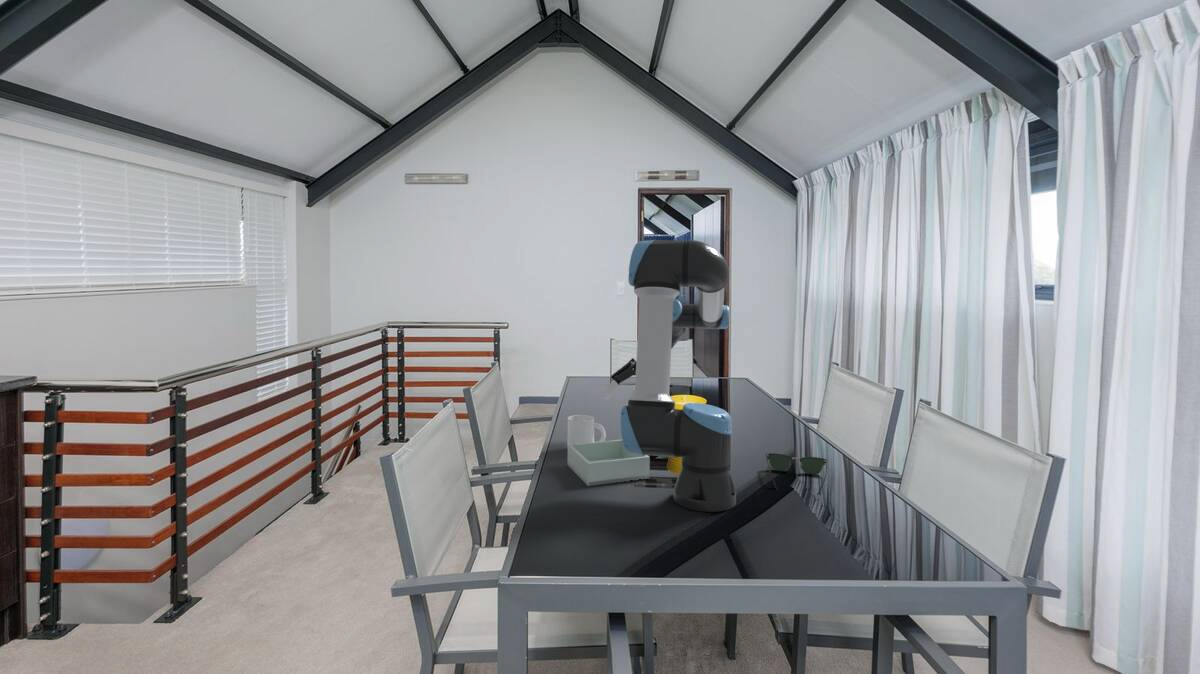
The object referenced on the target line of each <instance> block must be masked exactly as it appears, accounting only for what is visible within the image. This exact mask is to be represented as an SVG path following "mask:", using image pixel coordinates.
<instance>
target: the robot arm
mask: <svg viewBox="0 0 1200 674" xmlns="http://www.w3.org/2000/svg"><path fill="white" fill-rule="evenodd" d="M729 279H730V268H729V264H728V263H727V261H726V259H725V258H724V256H723V254H721V252H720V251H719V250H717V249H716V248H714V247H713V246H712V245H710V244H708V243H705V242H702V241H699V240H694V239H693V240H667V239H666V240H665V239H652V240H641V241H637V243H636V244H635V245H634V246H633V249H632V251H631V255H630V261H629V266H628V284H629V285H630V286H631V287H633V293H634V294H635V295H636V296H637V297H638V299H639V305H638V307H639V308H638V323H637V325H638V326H637V343H636V345H637V346H636V359H635V358H634V357H633V358H631V359H629V361H628V362H627V363H625V364H624V365H623V366H622V367H620V368H619V369H618V370H617V371H615V372H614V373H613V374H611V375H610V378H611V379H612V381H611V382H610V383H609V385H607V387H605V388H606V389H605V390H604V391H603V392H602V393H601V397H603V399H604V400H606V401H608V400H609V399H610V398H611V396H612V395H613V394H614V393H615V392H616V390H617V389H618V388H619V386H620V384H621V383H623V382H624V381H626V380H628V379H630V378H631V377H633V376H635V381H634V390H633V391H632V392H631V394H630V395H628V397H627V398H626V400H625V401H624V402H623V404H624V405H623V406H622V407H621V410H620V431H621V440H623V444H624V447H625V449H626V450H627V451H628V452H629V453H634V454H642V455H643V456H644V455H648V456H655V457H656V456H658V457H667V458H668V457H671V458H681V468H680V471H679V473H678V476H677V479H676V482H675V485H674V487H673V500H674V502H675V503H676V504H677V505H678V506H681V507H683V508H686V509H688V510H692V511H698V512H706V513H713V512H714V513H716V512H724V511H728V510H730V509H732V508H734V507H735V506H736V505H737V504H736V503H737V492H736V487H735V485H734V482H733V477H732V474H731V441H732V440H731V438H732V434H733V430H732V417H731V415H730V413H729V412H727V411H726V409H723V408H721V407H719V406H715V405H711V404H706V403H701V402H688V403H684V405H683V406H682V409H678V408H676V406H675V405H676V401H675V399H674V398H673V397H671V395H670V386H671V384H670V381H671V366H672V364H671V363H672V362H671V361H672V360H671V359H672V349H673V348H674V346H676V345H677V343H678V342H679V341H680V340H681V338H682V337H683V336H684V334H686V333H687V330H688V329H706V330H707V329H708V330H719V329H720V330H726V329H728V328H729V325H730V307H729V306H728V305H724V302H725V288H726V286H727V284H728V283H729ZM681 287H687V288H688V287H695V288H696V297H697V304H694V303H693V304H692V303H691V304H690V303H689V304H687V303H685V304H684V303H681V302H680V301H679V300H678V299H677V297H679V296H680V293H681Z"/></svg>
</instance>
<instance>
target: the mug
mask: <svg viewBox="0 0 1200 674" xmlns="http://www.w3.org/2000/svg"><path fill="white" fill-rule="evenodd" d="M595 429H598V430H599V431H600V432H601V437H600V439H599V440H598V441H597V442H602V441H606V438H607V434H606V433H607V432H606V430H605V428H604V426H603V425H602V424H600V423H598V422H595V417H594V416H592V415H588V414H587V415H586V414H576V415H575V414H574V415H569V416H567V439H566V441H567V442H566V443H567V444H566V445H567V447H566V448H568V445H571V444H581V443H591V442H595Z"/></svg>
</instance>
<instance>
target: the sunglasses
mask: <svg viewBox="0 0 1200 674" xmlns="http://www.w3.org/2000/svg"><path fill="white" fill-rule="evenodd" d="M765 459H766V463H767V467H768V470H769V475H770V476H771V479H772V482H773V485H774V488H775V490H778V488H777V485H776V482H775V480H774V477H773V474H772V471H771V469H772V470H773V471H779V472H787V471H788V470H789V469H790V468H791V466H792V463H791V462H792V461H793V460H798V461H799V462H800V469H801V470H802V471H803V473H804V474H808V475H819V474H820V473H821V472H822V470H823V468H824V466H825V475H824V478H823V482H822V484H821V486H820V488H819V491H818V492H817V495H819V494H820V493H821V490H822V488H823V486H824V483H825V481H826V479H827V474H828V473H827V472H828V459H826V458H823V457H816V456H805V457H800V458H799V457H796V456H795V457H792V456H790V455H787V454H783V453H775V452H774V453H771V452H769V453H765ZM770 467H771V468H770Z"/></svg>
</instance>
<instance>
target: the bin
mask: <svg viewBox="0 0 1200 674" xmlns="http://www.w3.org/2000/svg"><path fill="white" fill-rule="evenodd" d="M650 458H651V457H650V455H644V456H643V455H642V454H634V453H629V452H628V451H627V450H626V449H625V447H624V444H623V440H622V439H615V440H605V441H602V442H598V441H594V442H591V443H581V444H571V445H568V447H567V462H566V463H567V466H568V468H570V469H571V470H572V471H573V473H575V474H576V475H577V476H578V477H579V478H580V479H581V480H582V481H583V483H585V485H586V486H588V487H591V486H600V485H607V484H616V482H617V483H622V482H624V481H625V482H631V481H630V480H633V481H640V480H639V479H641V480H647V479H650V468H651V467H650V464H651V459H650Z"/></svg>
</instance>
